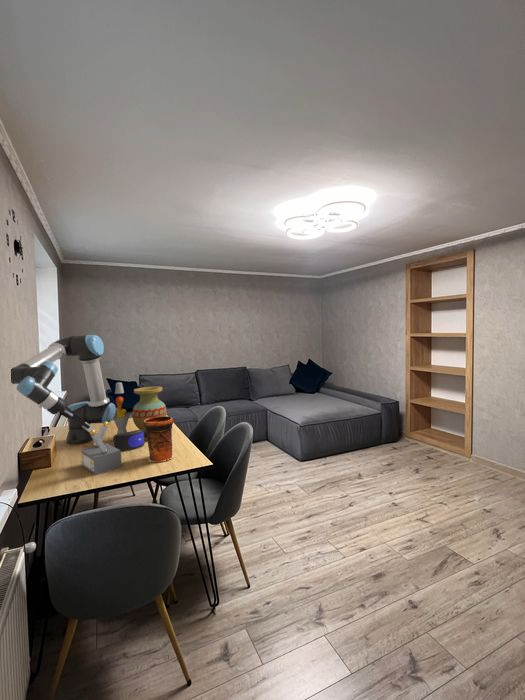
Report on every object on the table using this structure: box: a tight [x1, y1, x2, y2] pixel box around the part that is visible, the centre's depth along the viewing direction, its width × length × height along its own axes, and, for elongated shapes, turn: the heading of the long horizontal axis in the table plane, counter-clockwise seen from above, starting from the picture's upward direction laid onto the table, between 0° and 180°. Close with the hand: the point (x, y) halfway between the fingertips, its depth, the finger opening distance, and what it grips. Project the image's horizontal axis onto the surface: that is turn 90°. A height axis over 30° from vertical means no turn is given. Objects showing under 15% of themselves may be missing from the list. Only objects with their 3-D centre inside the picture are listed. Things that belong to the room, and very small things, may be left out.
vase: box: [131, 386, 167, 442], centre depth 208 cm, size 20×20×30 cm
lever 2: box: [90, 429, 107, 453], centre depth 158 cm, size 3×2×13 cm
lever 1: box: [93, 421, 109, 447], centre depth 171 cm, size 3×2×13 cm
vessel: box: [144, 416, 175, 463], centre depth 173 cm, size 14×14×20 cm
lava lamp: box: [113, 382, 130, 434], centre depth 203 cm, size 9×9×35 cm
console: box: [80, 443, 123, 476], centre depth 165 cm, size 17×13×8 cm
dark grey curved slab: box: [112, 429, 146, 453], centre depth 189 cm, size 16×5×9 cm, turn 126°
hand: (93, 430), depth 168 cm, fingers closed
